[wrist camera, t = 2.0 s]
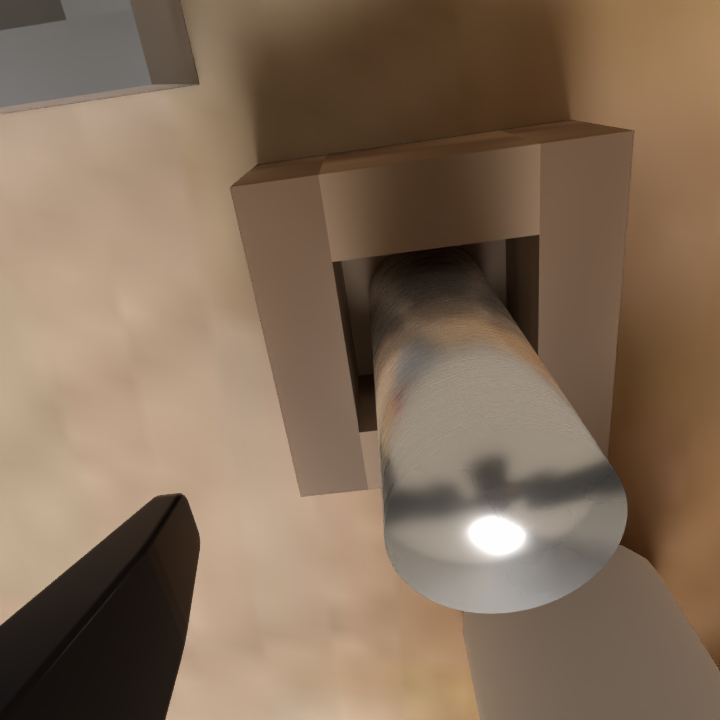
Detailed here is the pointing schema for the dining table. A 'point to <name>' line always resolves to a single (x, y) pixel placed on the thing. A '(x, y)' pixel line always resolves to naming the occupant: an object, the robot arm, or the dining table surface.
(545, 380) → the pin
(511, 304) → the socket block
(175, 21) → the tray
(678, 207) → the dining table surface
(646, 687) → the can
